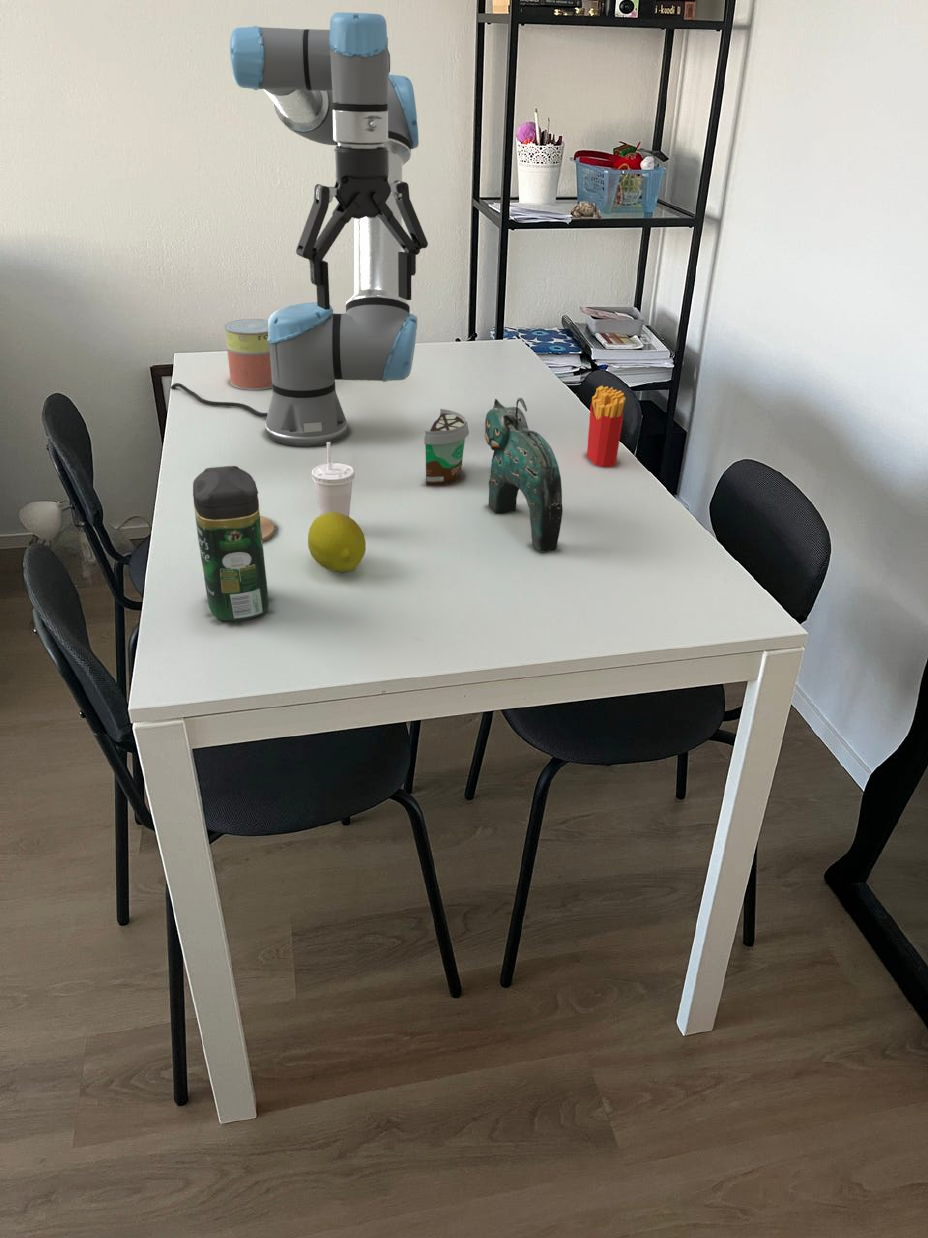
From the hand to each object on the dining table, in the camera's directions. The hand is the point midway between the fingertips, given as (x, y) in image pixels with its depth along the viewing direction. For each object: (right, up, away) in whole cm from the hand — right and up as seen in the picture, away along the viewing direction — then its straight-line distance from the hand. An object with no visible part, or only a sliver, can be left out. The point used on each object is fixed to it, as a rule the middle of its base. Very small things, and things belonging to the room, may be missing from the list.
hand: (365, 302), depth 142 cm
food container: (+12, -23, +22) cm, 34 cm away
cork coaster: (-19, -34, +2) cm, 39 cm away
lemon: (-3, -40, -6) cm, 41 cm away
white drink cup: (-5, -34, +4) cm, 34 cm away
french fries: (+40, -19, +31) cm, 54 cm away
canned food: (-30, +4, +63) cm, 70 cm away
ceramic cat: (+24, -33, +7) cm, 41 cm away
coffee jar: (-15, -46, -16) cm, 51 cm away
